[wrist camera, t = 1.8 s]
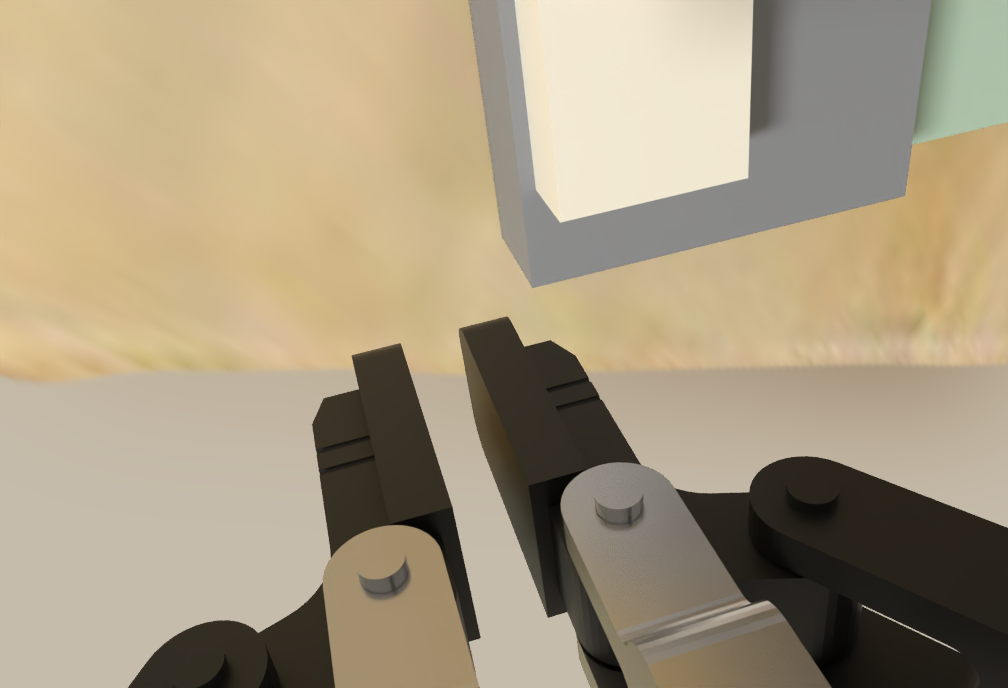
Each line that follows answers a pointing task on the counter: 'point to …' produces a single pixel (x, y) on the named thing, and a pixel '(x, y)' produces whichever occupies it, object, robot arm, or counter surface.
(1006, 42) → the mat
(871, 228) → the counter surface
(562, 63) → the cream rectangular slab
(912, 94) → the block
